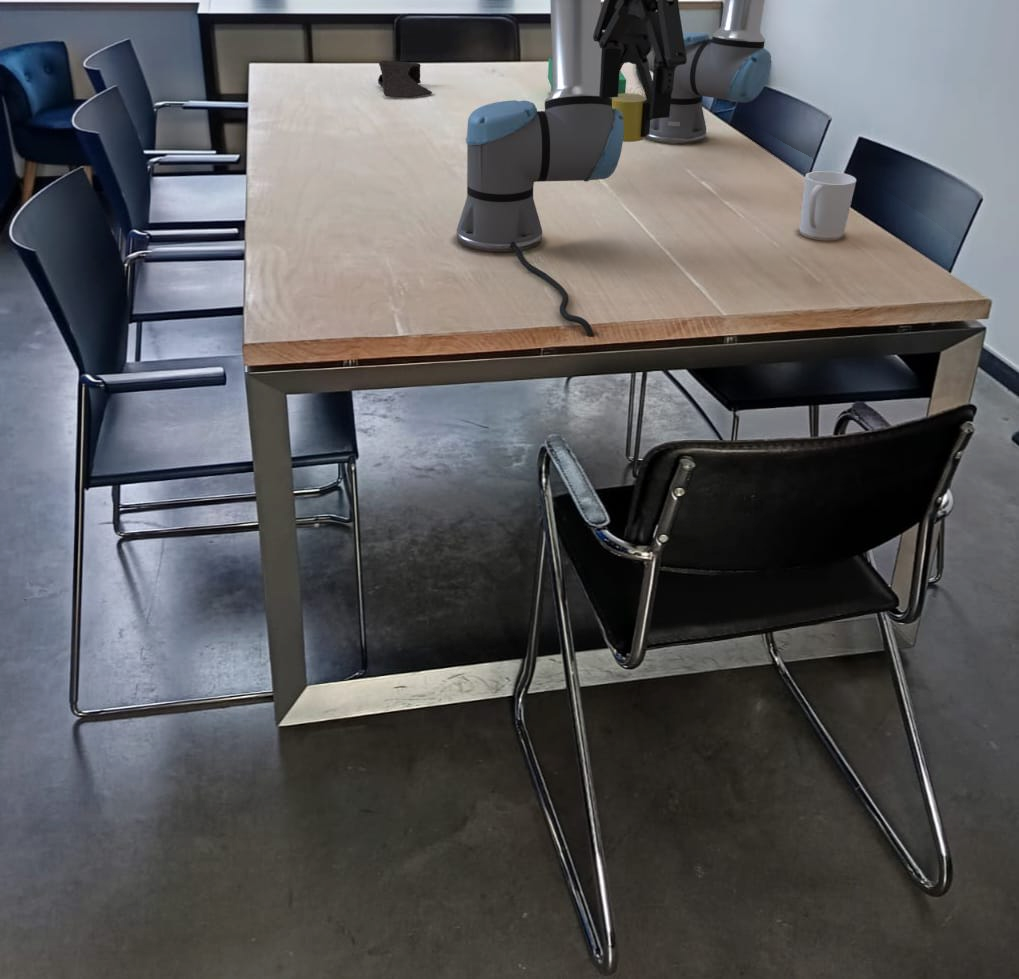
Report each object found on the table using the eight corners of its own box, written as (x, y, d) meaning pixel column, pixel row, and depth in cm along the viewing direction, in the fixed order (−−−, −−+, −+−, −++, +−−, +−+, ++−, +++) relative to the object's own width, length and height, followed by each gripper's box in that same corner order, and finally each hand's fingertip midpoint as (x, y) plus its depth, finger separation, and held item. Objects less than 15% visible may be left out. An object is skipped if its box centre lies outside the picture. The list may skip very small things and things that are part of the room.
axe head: (443, 87, 294) (392, 77, 287) (436, 115, 299) (385, 106, 292) (421, 62, 307) (371, 52, 300) (414, 89, 311) (365, 80, 304)
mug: (809, 222, 208) (818, 168, 202) (854, 233, 203) (864, 177, 197) (782, 236, 200) (791, 180, 195) (827, 247, 195) (838, 190, 190)
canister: (619, 130, 227) (622, 91, 223) (651, 136, 224) (654, 97, 219) (600, 137, 222) (602, 98, 218) (632, 143, 218) (634, 103, 214)
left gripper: (726, -53, 135) (706, 124, 146) (621, -71, 154) (610, 87, 165) (674, -51, 132) (658, 129, 143) (574, -70, 151) (567, 91, 162)
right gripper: (577, 9, 212) (572, 130, 224) (677, 19, 204) (666, 143, 216) (593, 4, 217) (587, 122, 229) (691, 13, 209) (679, 135, 221)
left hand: (633, 107), depth 154 cm, fingers open, 13 cm apart
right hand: (626, 132), depth 223 cm, fingers closed on canister, 8 cm apart
